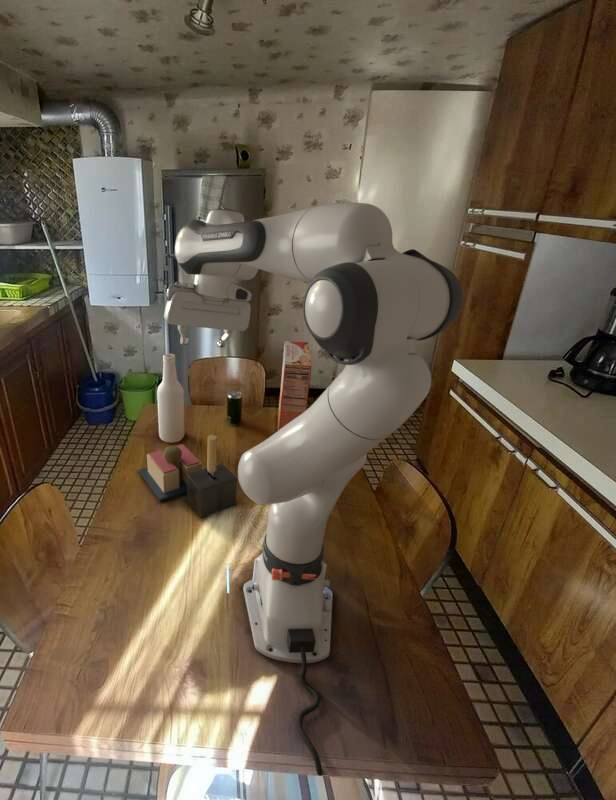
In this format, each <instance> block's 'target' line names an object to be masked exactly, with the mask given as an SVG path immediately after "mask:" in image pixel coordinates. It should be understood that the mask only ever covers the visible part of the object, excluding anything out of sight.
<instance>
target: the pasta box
mask: <svg viewBox="0 0 616 800" xmlns="http://www.w3.org/2000/svg"><path fill="white" fill-rule="evenodd" d="M283 345H284V346H283V355H282V367H281V368H282V369H281V377H280V378H281V379H280V391H279V400H278V401H279V402H278V412H277V431H279V430H280V429H281V428H282V427H284V426H285V425H287V424H288V423H289V422H291V421H292V420H294V419H295V418H296V417H298V416H299V415H301V414H302V413H304V412H305V411H306V410H307V409H308V400H309V399H308V398H309V391H310V382H311V373H312V368H313V367H312V360H311V359H312V358H311V354H310V353H311V352H310V345H309V342H306V341H305V342H304V341H291V340H289V341H287V340H285V341H284V344H283Z"/></svg>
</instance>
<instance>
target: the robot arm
mask: <svg viewBox="0 0 616 800" xmlns="http://www.w3.org/2000/svg"><path fill="white" fill-rule="evenodd" d="M174 257H175V260H176V261H177V263H178V265H179V266H180V268H181V269H182V270H183V272H184V273H186V274H187V275H193V276H194V279H193V283H189V282H188V283H187V282H186V283H185V282H184V283H183V282H181V281H175V282H174V283H172V284H170V285H169V286H168V287H167V291H166V299H167V300H166V304H165V306H164V307H165V308H164V313H163V318H164V320H165V322H166V323H167V324H169V325H173V326H177V330H178V333H179V335H180V340H179V343H180V345H183V346H188V345H189V341H190V337H189V336H187V335H186V334H185V331H187V327H191V328H192V327H193V328H205V329H216V330H223V333H224V334H223V335H222V336H221V338H217V342H216V346H217V348H220V349H221V348H223V349H225V348H226V345H227V342H228V340H229V339H230V338H231V336H233V331H235V332H245V331H246V330H247V329H248V328H249V325H250V319H251V309H252V308H251V304H250V301H251V299H252V296H253V295H252V292H251V291H249V290H248V289H246V288H244V287H242V286H241V285H240V284H238V283H236V282H235V280H238V281H252V280H253V279H255V278H257V276H259V274H260V273H261V272H262V271H265V272H268V273H270V274H274V275H277V276H281V277H283V278H285V279H291V280H294V281H298V282H303V283H308V285H307V286H306V290H305V293H304V296H303V300H302V301H303V303H302V315H303V319H304V323H305V326H306V328H307V330H308V331H309V333H310V335H311V336H312V338H313V339H314V341H315V342H316V344H317V345H318V346H319V347H320V348H322V349H323V350H324V351H325V352H326V355H327V356H328V358H329V359H330V360H332V361H333V362H335V363H337V364H340V365H344V366H345V367H344V368H343V370H342V371H341V372H340V373H339V374H338V375H337V376H336V377H335V378H334V379H333V381H332V382H331V383H330V384H329V385H328V387H326V389H325V390H324V391H323V392H322V393H321V394H320V395H319V396H318V397H317V399H316V400H315V401H314V402H313V403H312V404H311V405H310V406H309V407H307V408H306V411H305V412H304V413H302V414H301V415H299V416H298V417H296V418H295V419H294V420H292V421H291V422H289V423H288V424H287V425H285V426H284V427H282V428H281V429H280V430H279V431H278V430H277V431H276V432H275V433H273V434H272V435H270V436H269V437H267V438H266V439H264V440H263V441H262V442H260V443H258V444H257V445H255V446H253V447H251V448H250V449H248V450H246V451H245V452H244V453H243V454H241V457H240V459H239V462H238V466H237V480H238V482H239V485H240V488H241V489H242V492H243V493H244V494H245V495H246V497H247V498H249V499H250V500H251V501H252V502H254V503H255V504H256V505H259V506H266V505H267V506H268V505H270V506H269V509H268V515H267V524H266V533H265V535H264V539H263V542H262V552H261V554H259V555H258V556H257V557H256V558H255V559H254V564H253V574H252V579H250V580H248V581H246V582H245V583H244V584H243V588H242V589H243V595H244V600H245V605H246V606H245V607H246V609H247V615H248V620H249V625H250V630H251V634H252V640H253V644H254V648H255V650H256V651H257V652H259V653H260V654H261V655H263V656H265V657H267V658H270V659H273V660H275V661H280V662H283V663H284V662H285V663H290V664H291V663H292V664H301V670H300V674H299V675H300V676H299V678H300V682H301V684H302V686H303V687H304V689H306V690H307V691H308V692H309V693H310V694H311V695H312V696H313V698H314V702H313V703H312V704H310V705H309V706H307V707H305V708H303V709H302V710H301V711H300V712H299V713H298V715H297V719H296V727H297V729H298V730H297V731H298V733H299V735H300V738H301V740H303V742H304V744H305V746H306V747H307V749H308V750H309V752H310V753H311V756H312V758H313V761H314V765H315V770H316V774H317V775H318V776H319V777H320V776H321V777H322V775H323V768H322V762H321V759H320V756H319V754H318V752H317V749H316V747H315V746H314V744H313V743H312V741H311V739H310V738H309V737H308V735H307V733H306V732H305V729H304V725H303V720H304V718H305V717H307V715H309V714H311V713H313V712H315V711H316V710H317V709H318V708H319V706H320V704H321V698H320V697H321V696H320V693H318V691H317V690H316V688H314V687H313V686H312V685H310V684H309V683H308V681H307V679H306V675H307V671H308V665H307V664H312V663H318V662H321V661H323V660H326V659H327V658H329V657H330V654H331V653H330V652H331V637H332V634H331V633H332V614H333V595H334V594H333V591H332V590H331V589H330V588H329V587H330V580H328V579H325V577H326V571H327V566H328V565H327V564H326V562H325V561H324V557H325V556H324V555H325V552H324V551H325V549H324V539H325V532H326V529H327V524H328V521H329V518H330V516H331V514H332V511H333V510H334V508H335V506H336V504H337V502H338V500H339V499H340V497H341V495H342V493H343V491H344V490H345V489H346V487H347V485H349V483H350V482H351V480H352V479H353V478H354V477H355V476H356V475H357V474H358V473H359V472H360V471H362V469H363V468H364V467H365V464H366V461H367V456H368V455H367V454H368V453H370V451H372V450H373V449H374V448H375V447H377V446H378V445H379V444H381V443H382V442H383V441H384V440H386V439H387V438H388V437H389V436H391V435H392V434H394V432H396V431H397V430H398V429H399V428H400V427H402V426H403V424H405V422H406V421H408V419H409V418H410V417H411V416H412V415H413V414H414V413H415V412H416V410H417V409H418V408H419V407H420V405H421V404H422V403H423V402H424V400H425V399H426V397H427V396H428V394H429V392H430V390H431V387H432V373H431V370H430V368H429V366H428V363H427V362H426V360H425V359H424V358H423V357H422V356H421V354H419V353H418V352H417V350H416V346H415V343H416V341H424V340H428V339H430V338H433V337H435V336H437V335H439V334H441V333H442V332H444V331H446V330H447V329H448V328H449V327H451V326H452V325H453V324H454V323H455V321H456V320H457V319H458V317H459V315H460V313H461V311H462V308H463V302H464V292H463V287H462V285H461V282H460V280H459V278H458V277H457V275H456V274H455V273H454V272H453V271H451V270H450V269H449V268H448V267H446V266H444V265H442V264H440V263H438V262H436V261H434V260H432V259H430V258H428V257H427V256H426V255H424V254H422V253H421V252H419V251H418V250H416V249H413V248H412V249H408V250H405V251H403V252H400V251H399V250H396V248H395V247H394V243H393V227H392V225H391V222H390V220H389V217H388V216H387V214H386V213H385V212H384V210H382V209H381V208H379V207H378V206H376V205H374V204H370V203H367V202H352V201H351V202H349V201H348V202H333V203H327V204H321V205H317V206H312V207H307V208H303V209H300V210H296V211H291V212H288V213H283V214H280V215H279V214H278V215H274V216H268V217H263V218H258V219H254V220H249V221H245V218H244V214H243V213H241V212H239V211H238V210H235V209H229V208H214V209H212V210H210V211H209V212H208V214H207V216H206V218H205V221H203V220H200V219H195V218H193V219H191V220H189V221H188V222H187V223H185V224H184V225H183V226H182V227H181V228H180V229H179V231H178V232H177V235H176V236H175V241H174ZM229 573H230V572H229V566H226V589H227V594H230V576H229V575H230V574H229Z"/></svg>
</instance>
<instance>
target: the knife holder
mask: <svg viewBox="0 0 616 800" xmlns="http://www.w3.org/2000/svg"><path fill="white" fill-rule="evenodd" d="M237 488H238V477H236V475H235V474H234V473H233V472H231V471H230V470H229V468H228V467H226V466H225V465H224V463H218V464H216V471H215V478H214V480H213V479H212V478H211V477H210V476H209V472H208V470H207V467H206V468H202V470H199V471H195V472H192V473H189V474H187V493H186V502H187V503H188V504H189V506H190V507H191V508H192V509H193V511H194V512H195V514H196V515H198V517H199V518H200V519H201V518H205V517H207V516H210V515H213V514H216V513H218V512H221V511H224V510H226V509H229V508H231V507H235V506H236V505H237V490H238V489H237Z"/></svg>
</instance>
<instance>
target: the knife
mask: <svg viewBox="0 0 616 800" xmlns="http://www.w3.org/2000/svg"><path fill="white" fill-rule="evenodd" d="M206 445H207V446H206V447H207V449H206V451H207V453H206V456H207V457H206V458H207V459H206V460H207V461H206V462H207V463H206V468H207V470H208V472H209V476H210V477H211V478H212V479H213V480H214V478H215V471H216V465H217V463H218V462H217V458H218V455H217V453H218V436H217V435H215V434H210V435H207V444H206Z"/></svg>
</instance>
